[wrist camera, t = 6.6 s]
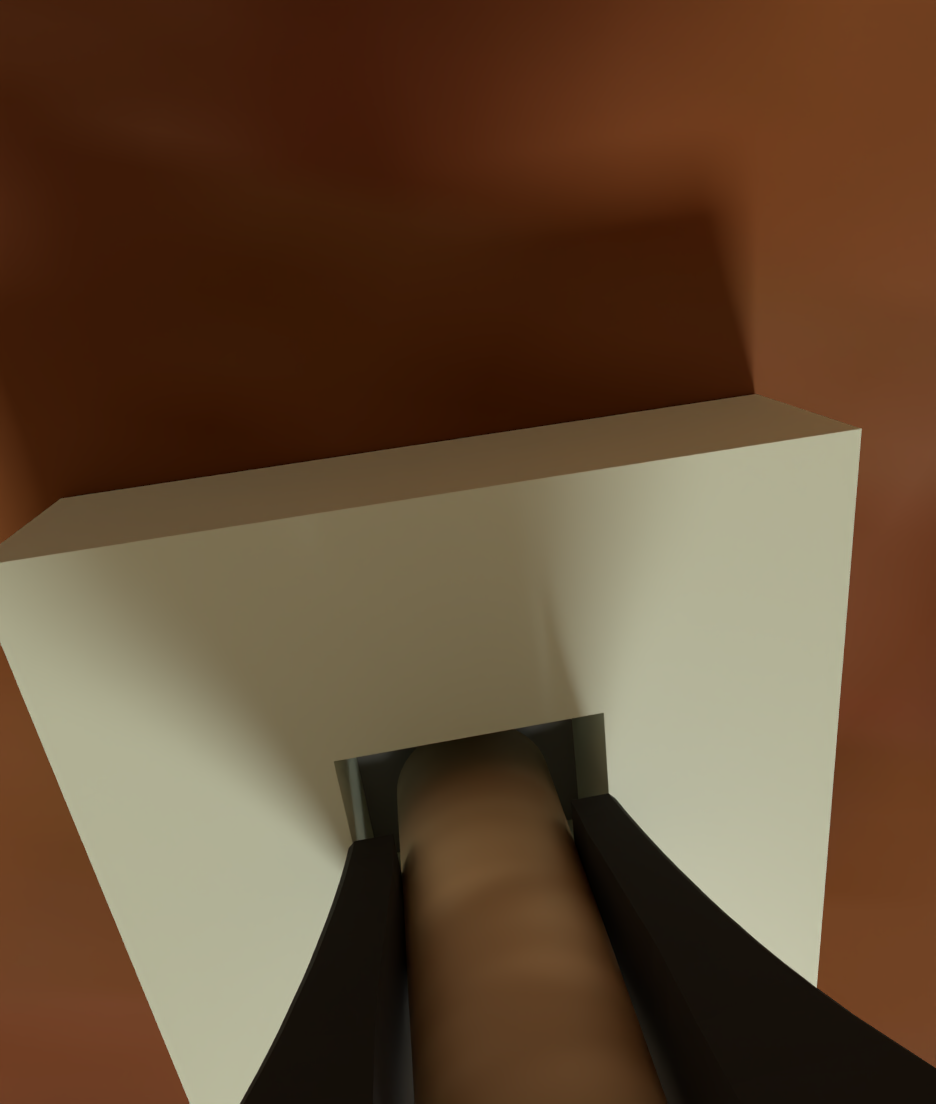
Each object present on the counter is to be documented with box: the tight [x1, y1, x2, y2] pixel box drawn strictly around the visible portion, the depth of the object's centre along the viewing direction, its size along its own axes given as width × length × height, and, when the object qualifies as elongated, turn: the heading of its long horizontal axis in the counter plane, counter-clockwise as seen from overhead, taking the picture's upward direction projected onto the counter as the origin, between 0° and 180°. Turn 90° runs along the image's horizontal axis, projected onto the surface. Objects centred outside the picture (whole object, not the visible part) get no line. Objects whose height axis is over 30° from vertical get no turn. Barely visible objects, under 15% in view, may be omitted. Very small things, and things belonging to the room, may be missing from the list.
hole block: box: [0, 394, 862, 1104], centre depth 13 cm, size 12×12×3 cm
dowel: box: [397, 729, 668, 1104], centre depth 10 cm, size 3×3×7 cm
